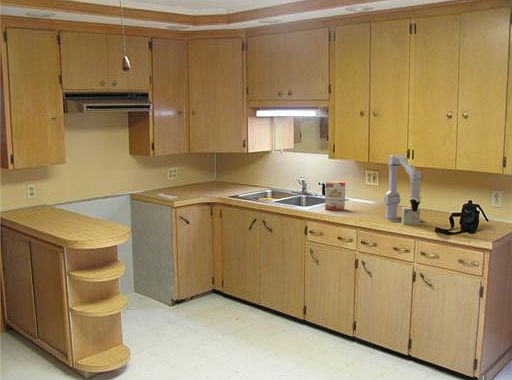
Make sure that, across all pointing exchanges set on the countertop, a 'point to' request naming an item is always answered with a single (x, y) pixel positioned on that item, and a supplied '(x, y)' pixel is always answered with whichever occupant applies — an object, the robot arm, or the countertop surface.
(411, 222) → the light bulb box
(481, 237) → the countertop surface
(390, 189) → the robot arm
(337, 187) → the cracker box
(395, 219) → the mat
